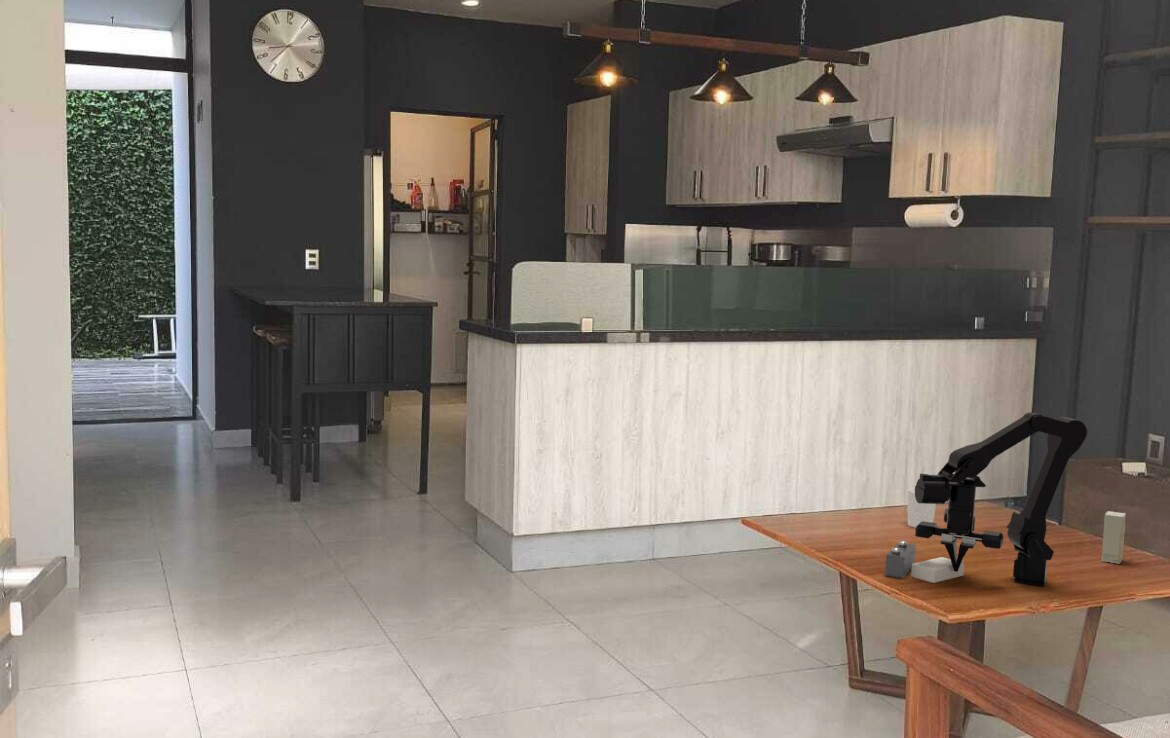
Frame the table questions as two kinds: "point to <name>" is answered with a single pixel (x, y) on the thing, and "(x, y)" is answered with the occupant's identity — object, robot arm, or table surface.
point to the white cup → (919, 510)
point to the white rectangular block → (936, 570)
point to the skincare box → (1113, 537)
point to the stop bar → (900, 560)
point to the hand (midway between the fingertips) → (956, 571)
